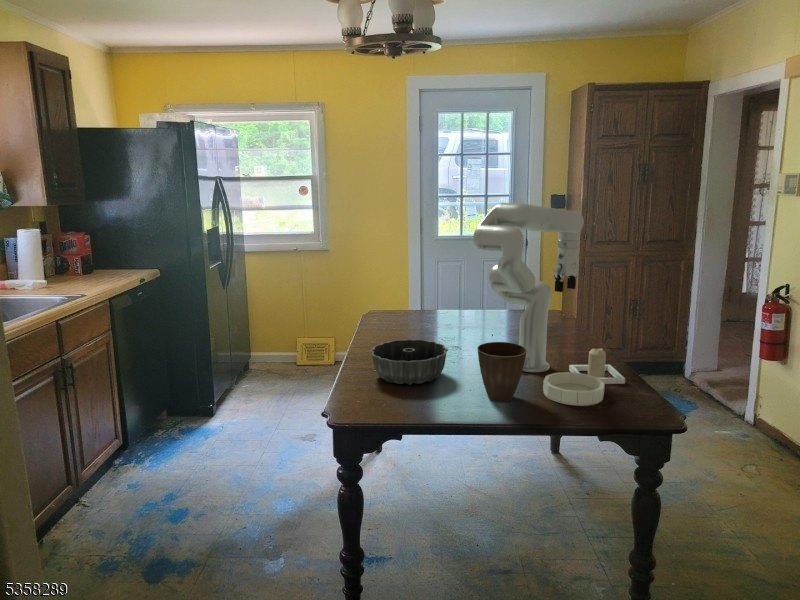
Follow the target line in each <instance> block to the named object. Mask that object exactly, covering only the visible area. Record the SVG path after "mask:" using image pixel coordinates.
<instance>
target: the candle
mask: <svg viewBox="0 0 800 600" xmlns="http://www.w3.org/2000/svg"><path fill="white" fill-rule="evenodd" d="M606 359H607V353H606V351H605V350H604V349H603V348H601V347H600V348H595V347H594V348H592V349H591V350H590V351H589V352H588V363H587V365H588V371H587V375H590V376H593V377H596V378H605V377H606V376H605V374H606V371H605V365H606Z"/></svg>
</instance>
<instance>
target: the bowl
mask: <svg viewBox="0 0 800 600" xmlns="http://www.w3.org/2000/svg"><path fill="white" fill-rule="evenodd" d="M542 383H543V384H542V385H543V386H542V392H543V395H544V396H545V398H547V399H549V400H551V401H552V402H555V403H559V404H563V405H566V406H567V405H568V406H577V407H579V406H580V407H586V406H594V405H597V404H601V402H602V401H603V400H604V395H605V385H606V384H605V383H604V382H602V381H601V380H600V379H599V378H596V377H593V376H590V375H588V373H587V374H586V373H583V372H582V373H581V372H580V373H574V372H571V371H567V372H566V371H565V372H554V373H551V374H548V375H545V377H544V379H543V381H542Z"/></svg>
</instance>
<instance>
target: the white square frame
mask: <svg viewBox="0 0 800 600" xmlns="http://www.w3.org/2000/svg"><path fill="white" fill-rule="evenodd" d="M568 367H569V368H568V370H569V372H574V373H581V371H582V372H588V364H569V366H568ZM606 371H607V372H608V373H610V375H611V376H612V377H611V376H610V377H609V376H608V377H606V376H604V378H599V379H600V380H601V381H602V382H604V383H605V385H614V384H615V385H617V384H619V385H623V384H624V385H626V384H625V383H626V378H625V377H624V376H623V375H622V374H621V373H620V372H619V371H618V370H617V369H616V368H614V366H612V365H611V364H605V372H606Z"/></svg>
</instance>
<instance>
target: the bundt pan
mask: <svg viewBox="0 0 800 600" xmlns="http://www.w3.org/2000/svg"><path fill="white" fill-rule="evenodd" d="M448 350H449V349H448V348H447V347H446V346H445V345H444V344H442V343H439V342H436V341H431V340H426V339H410V338H409V339H395V340H391V341H388V342H387V341H386V342H381V343H380V344H376V345H374V346H373V347H372V349H370V350H369V353H370V354H371V356H372V362H373V366H374V370H375V371H376V373H377V375H378V376H379V378H381V379H382V380H385V382H387V383H394V384H396V385H397V384H398V385H404V384H407V385H408V386H411V385H412V384H416V385H418V384H419V385H421V384H423V383H425V382H426V383H430V382H432V381H433V380H434V379H437V378H438V377H439V376H440V375H441V374H442V372H443V370H444V368H445V364H446V360H447V359H446V358H447V352H448Z"/></svg>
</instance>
